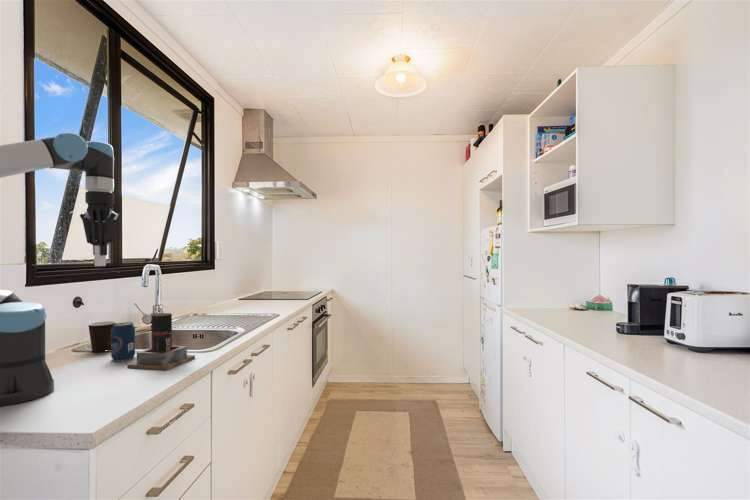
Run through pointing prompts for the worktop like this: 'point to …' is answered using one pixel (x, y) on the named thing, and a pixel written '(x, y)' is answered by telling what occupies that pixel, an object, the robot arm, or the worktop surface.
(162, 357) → the socket
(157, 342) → the deodorant
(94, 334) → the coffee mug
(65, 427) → the worktop surface
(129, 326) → the soda can
